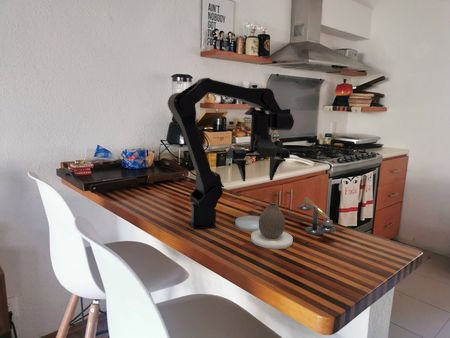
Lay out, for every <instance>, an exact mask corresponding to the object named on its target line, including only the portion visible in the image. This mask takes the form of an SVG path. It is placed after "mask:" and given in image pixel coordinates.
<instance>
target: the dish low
mask: <svg viewBox="0 0 450 338" xmlns="http://www.w3.org/2000/svg"><path fill="white" fill-rule="evenodd" d="M293 239H294V237H293V236H292V235H291V234H290V233H288V232H286V231H285V230H284V231H283V233H282V235H281V236H280V237H278V238H276V239H268V238H265V237H264V236H263V235H262V234H261V232H260V230H257V231H254V232H252V233H251V234H250V240H251V242H252V243H253V245H255V246H258V247H261V248H264V249H268V250H269V249H273V250H280V249H281V250H283V249H286V248H289V247H291V246H293V241H294V240H293Z"/></svg>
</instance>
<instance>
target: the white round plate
mask: <svg viewBox="0 0 450 338" xmlns="http://www.w3.org/2000/svg"><path fill="white" fill-rule="evenodd" d="M259 218H260V215H259V216H258V215H244V216H240V217H237V218H236V219H235V226H236V227H237V229H240V230H242V231H247V232H252V233H253V232H254V231H257V230H259Z"/></svg>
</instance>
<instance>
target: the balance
mask: <svg viewBox="0 0 450 338" xmlns="http://www.w3.org/2000/svg"><path fill="white" fill-rule="evenodd" d="M303 200H304V204H298V205H297V209H298V210H300V211H313V212H312V213H313V214H312V226H306V227H305V233H306V234H307V235H311V236H323V234H324V233H335V232H337V228H336V226H333V220H332V219H331V218H330V217H329V216H328V215H327V214H326V213H325V212H324V211H323V210H322V209H321V208H320V206H318V205H316V204H315V203H314V202H313V201H312V200H311V199H309V198H308V197H307V196H305V197H304V199H303ZM306 203H308V204H306ZM319 215H321V216H322V217H323V222H322V224H320V225H318V224H319Z"/></svg>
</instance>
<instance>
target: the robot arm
mask: <svg viewBox="0 0 450 338" xmlns="http://www.w3.org/2000/svg"><path fill="white" fill-rule="evenodd" d="M207 94H208V95H209V94H210V95H212V96H213V95H214V96H218V97H223V98H228V99H233V100H237V101H240V102H243V104H244V103H245V104H246V105H248V106H250V108H249V109H247V111H245V112H244V115H246V116H251V120H250V122H251V123H250V132H249V134H248V137H250V139H249V145H248V150H246V149H245V148H242V147H229V149H228V150H227V158H230V159H231V160H232V161H234V163H235V164H236V166H237V168H238V170H239V174H240V177H241V179H242V182H246V178H247V177H246V174H247V173H246V164H247V161H248V160H247V159H245V158H246V157H261V158H263V159H266V158H269V168H268V169H269V173H268V174H269V175H268V176H269V177H268V178H269V181H273V180H274V177H275V175H276V172H277V170H278V169H279V166H280V164H282V163H283V162H286V159H290V157H291V152H290V149H288V148H284V142H283V141H282V140H275V141H272V134H270V130H271V131H273V132H274V131H275V132H276V131H277V132H279V131H280V132H282V131H286V132H289V131H291V130H292V129H293V127H294V123H295V119H294V117H293V114H292V113H291V108H283V109H282V108H281V107H280V105H279V104H278V102H277V100H276V97H275V94H274V91H273V89H272V88H268V87H246V86H241V85H236V84H231V83H228V82H224V81H218V80H216V79H215V80H214V79H212V78H210V77H203V78H200V79H198V80H197V81H196V82H194V83H193V84H192V85H190V86H188V87H187V88H185V89H184V90H182V91H181V92H175V93H173V94H171V95H170V96H169V97H168V100H167V107H168V109H169V110H170V113H171V114H172V117H173V118H174V119H175V121H176V122H177V124H178V125H179V127H180V129H181V133H182V135H183V139H184V141H185V143H186V146H187V149H188V154H189V156H190V159H191V162H192V164H193V168H194V171H195V184H196V186H195V187H196V188H195V189H194V190H193V191H192V192H191V193H190V194H189V199H190V202H191V211H190V213H191V214H190V215H191V217H190V220H189V223H190V225H191V227H193V229H195V230H197V229H208V228H209V229H210V228H216V222H217V210H216V207H217V204H218V202H219V200H220V199H221V197H222V195H223V193H224V190H223V188H224V187H225V185H224V184H223V183H222V178H221V175H220V174H219V173H218V172H216V171H213V170H212V169H211V166H210V163H209V160H208V159H209V158H208V157H207V153H206V150H205V147H204V144H203V141H202V138H201V134H200V132H199V129H198V125H197V109H196V108H197V107H196V104H198V103H199V102H200V101H202V100H203V98H205V96H206V95H207ZM267 112H268V113H267Z"/></svg>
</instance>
